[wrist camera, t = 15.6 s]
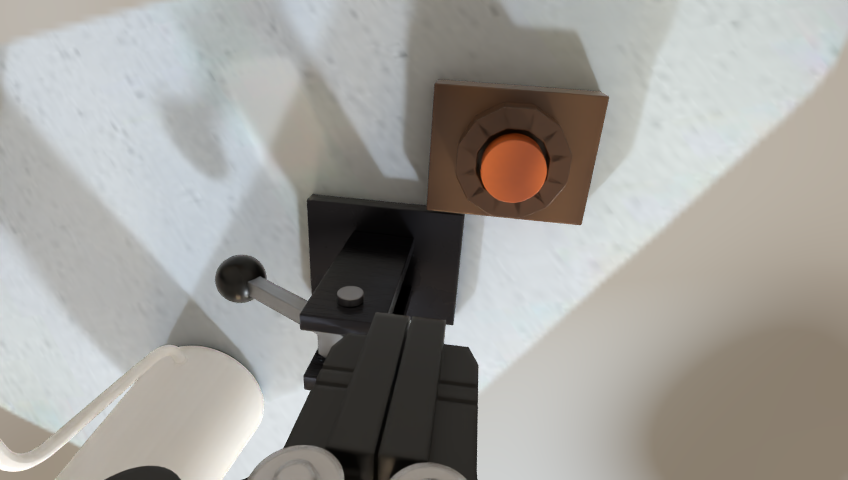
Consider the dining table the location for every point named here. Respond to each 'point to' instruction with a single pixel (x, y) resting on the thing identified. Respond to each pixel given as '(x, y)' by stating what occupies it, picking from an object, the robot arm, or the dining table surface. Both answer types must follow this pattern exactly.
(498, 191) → the warm button
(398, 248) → the lever base
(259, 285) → the lever
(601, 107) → the button base
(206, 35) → the dining table surface
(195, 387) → the coffeepot
